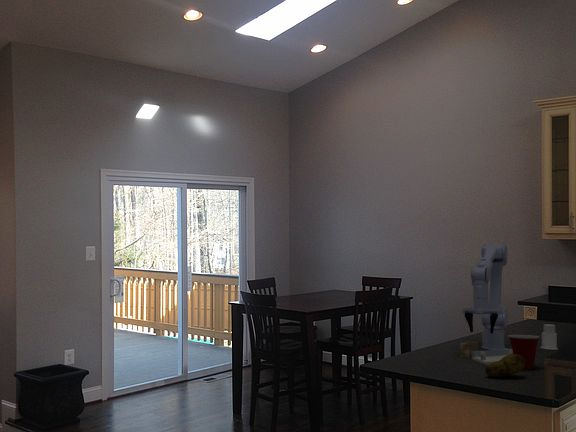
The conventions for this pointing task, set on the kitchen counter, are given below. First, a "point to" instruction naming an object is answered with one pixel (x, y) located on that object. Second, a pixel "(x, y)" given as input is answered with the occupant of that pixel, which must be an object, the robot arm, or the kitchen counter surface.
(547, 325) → the white threaded pipe fitting
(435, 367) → the kitchen counter surface
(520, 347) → the plastic cup
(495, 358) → the board
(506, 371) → the potato
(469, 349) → the brown tapered block
